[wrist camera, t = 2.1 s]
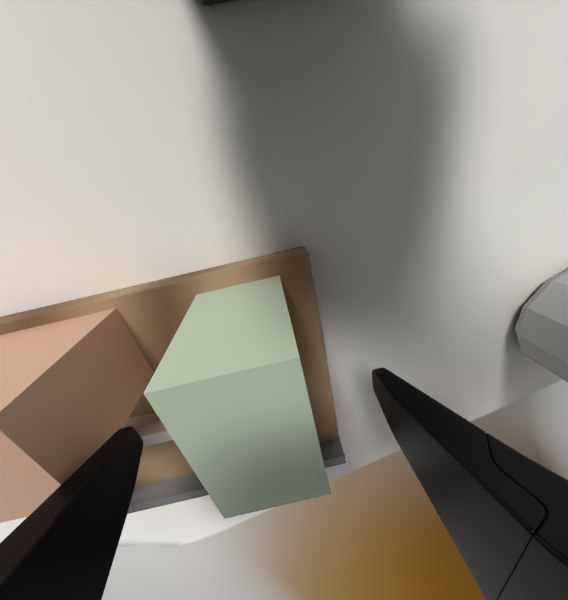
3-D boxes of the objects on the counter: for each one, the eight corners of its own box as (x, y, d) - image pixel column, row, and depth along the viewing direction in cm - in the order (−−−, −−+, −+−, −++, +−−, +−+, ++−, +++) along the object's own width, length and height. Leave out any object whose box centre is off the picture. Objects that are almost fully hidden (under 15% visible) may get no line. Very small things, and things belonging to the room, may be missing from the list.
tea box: (279, 275, 11) (299, 357, 6) (303, 377, 14) (330, 493, 9) (193, 295, 11) (137, 394, 6) (234, 393, 14) (220, 519, 9)
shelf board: (303, 246, 12) (315, 262, 10) (335, 431, 19) (347, 468, 16) (-9, 319, 12) (-74, 352, 10) (131, 479, 19) (112, 523, 16)
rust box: (-21, 339, 11) (-269, 481, 6) (115, 308, 11) (-11, 421, 6) (37, 401, 13) (-114, 552, 8) (155, 374, 13) (85, 506, 8)
